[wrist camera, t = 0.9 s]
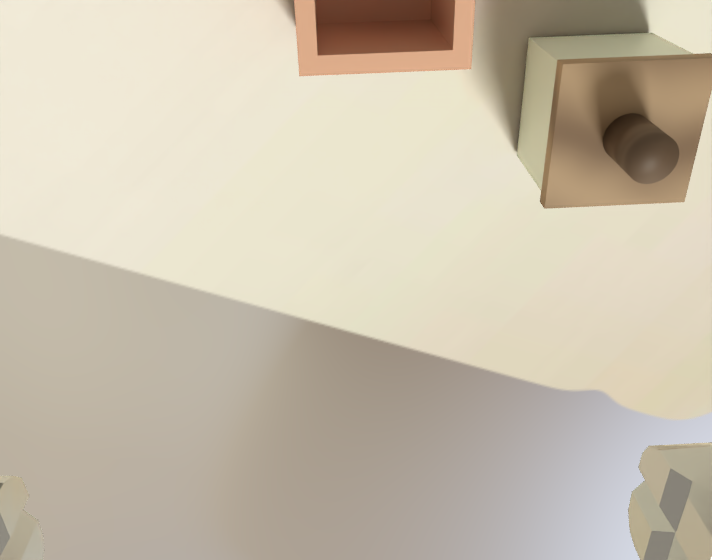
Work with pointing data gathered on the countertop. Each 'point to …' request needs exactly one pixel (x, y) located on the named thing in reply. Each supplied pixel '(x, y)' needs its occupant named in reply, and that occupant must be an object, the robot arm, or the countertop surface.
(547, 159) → the lid
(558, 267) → the countertop surface
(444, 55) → the planter
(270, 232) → the countertop surface
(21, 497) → the robot arm
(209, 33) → the countertop surface
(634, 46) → the tub
